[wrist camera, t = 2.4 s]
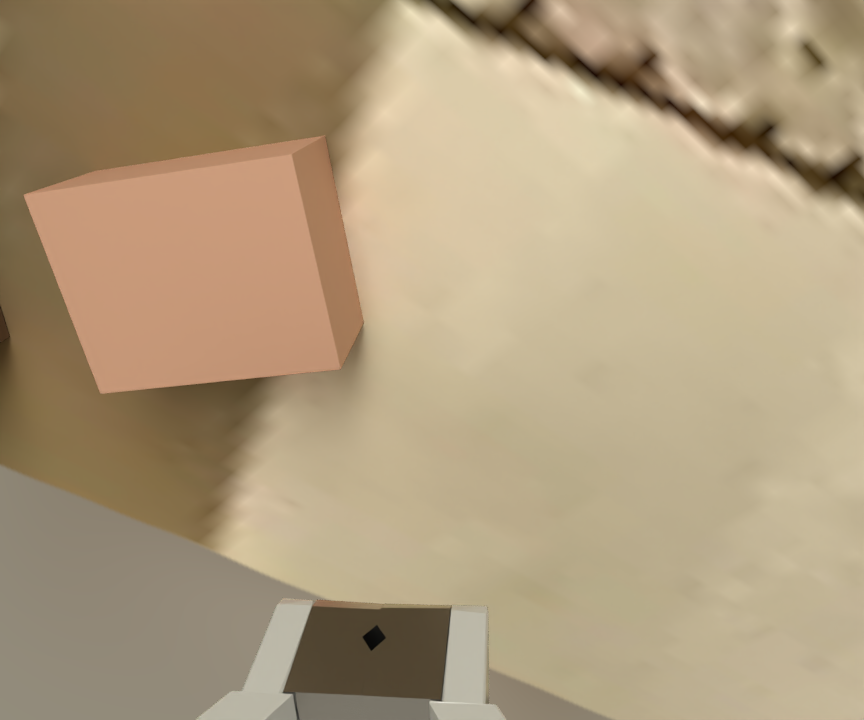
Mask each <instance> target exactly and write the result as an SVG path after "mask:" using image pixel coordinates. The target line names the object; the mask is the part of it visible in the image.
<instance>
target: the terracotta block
mask: <svg viewBox="0 0 864 720" xmlns="http://www.w3.org/2000/svg"><path fill="white" fill-rule="evenodd" d="M24 198H25V200H26V203H27V205H28V208H29V210H30V213H31V216H32V218H33V221H34V223H35V226H36V229H37V231H38V234H39V236H40V239H41V241H42V244H43V247H44V249H45V252H46V254H47V257H48V259H49V262H50V265H51V267H52V270H53V272H54V275H55V278H56V280H57V283H58V285H59V288H60V290H61V293H62V296H63V298H64V301H65V303H66V306H67V308H68V311H69V314H70V316H71V319H72V321H73V324H74V327H75V329H76V332H77V334H78V337H79V339H80V342H81V345H82V347H83V350H84V352H85V355H86V358H87V360H88V363H89V365H90V368H91V370H92V373H93V376H94V378H95V381H96V383H97V386H98V388H99V391H100V394H102V393H112V392H121V391H131V390H141V389H151V388H161V387H171V386H181V385H191V384H200V383H210V382H220V381H230V380H240V379H250V378H260V377H269V376H279V375H289V374H299V373H309V372H319V371H329V370H338V369H341V368H342V366H343V364H344V362H345V360H346V358H347V356H348V354H349V352H350V350H351V348H352V346H353V344H354V342H355V340H356V338H357V336H358V334H359V332H360V329H361V327H362V325H363V323H364V321H363V317H362V312H361V307H360V302H359V297H358V293H357V288H356V283H355V278H354V273H353V268H352V264H351V259H350V254H349V249H348V244H347V239H346V235H345V230H344V225H343V220H342V215H341V210H340V206H339V201H338V196H337V191H336V186H335V182H334V177H333V172H332V167H331V162H330V157H329V153H328V148H327V143H326V138H325V136H320V137H313V138H307V139H300V140H294V141H287V142H281V143H274V144H268V145H261V146H255V147H248V148H242V149H235V150H229V151H222V152H216V153H209V154H203V155H196V156H190V157H183V158H177V159H170V160H164V161H157V162H151V163H144V164H138V165H131V166H125V167H118V168H112V169H105V170H99V171H94V172H91V173H88V174H84V175H81V176H78V177H75V178H72V179H69V180H66V181H63V182H60V183H57V184H54V185H51V186H48V187H45V188H42V189H39V190H36V191H33V192H30V193H27V194H24Z"/></svg>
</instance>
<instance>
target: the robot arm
mask: <svg viewBox="0 0 864 720" xmlns="http://www.w3.org/2000/svg"><path fill="white" fill-rule="evenodd" d="M196 720H506V718H505V717H504V715H503V714H502V712H501V711H500V709H499V708H498V706H497V705H493V704H489V624H488V607H487V606H467V605H453V606H452V605H419V604H377V603H361V602H345V601H329V600H316V601H314V600H300V599H285V598H283V599H282V600H281V601H280V602H279V603H278V605H277V606H276V607H275V610H274V612H273V615H272V617H271V620H270V622H269V625H268V627H267V629H266V632H265V634H264V637H263V640H262V642H261V644H260V647H259V649H258V652H257V654H256V656H255V659H254V661H253V664H252V666H251V669H250V671H249V674H248V676H247V679H246V681H245V683H244V686H243V688H242V691H230V692H229V693H228V694H226V696H224V697H223V698H222V699H220V700H219V701H218V702H217V703H216V704H214V705H213V706H212V707H210V708H209V709H208V710H207V711H205V712H204V713H203V714H202V715H200V716H199V717H198V718H197V719H196Z"/></svg>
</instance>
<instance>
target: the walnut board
mask: <svg viewBox="0 0 864 720" xmlns="http://www.w3.org/2000/svg"><path fill="white" fill-rule="evenodd" d="M8 337H10V336H9V333H8V330H7V327H6V324H5V320H4V317H3V314H2V311H1V308H0V342H2V341H3V340H5V339H6V338H8Z"/></svg>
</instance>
